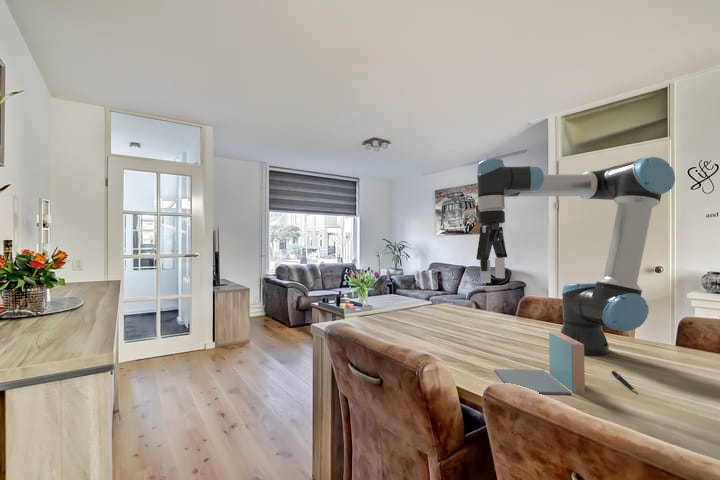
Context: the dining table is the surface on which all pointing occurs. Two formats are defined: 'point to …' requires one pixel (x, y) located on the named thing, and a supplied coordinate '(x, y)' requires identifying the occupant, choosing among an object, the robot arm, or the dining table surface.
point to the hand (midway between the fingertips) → (493, 280)
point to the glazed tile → (567, 361)
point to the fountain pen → (622, 380)
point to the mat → (532, 380)
